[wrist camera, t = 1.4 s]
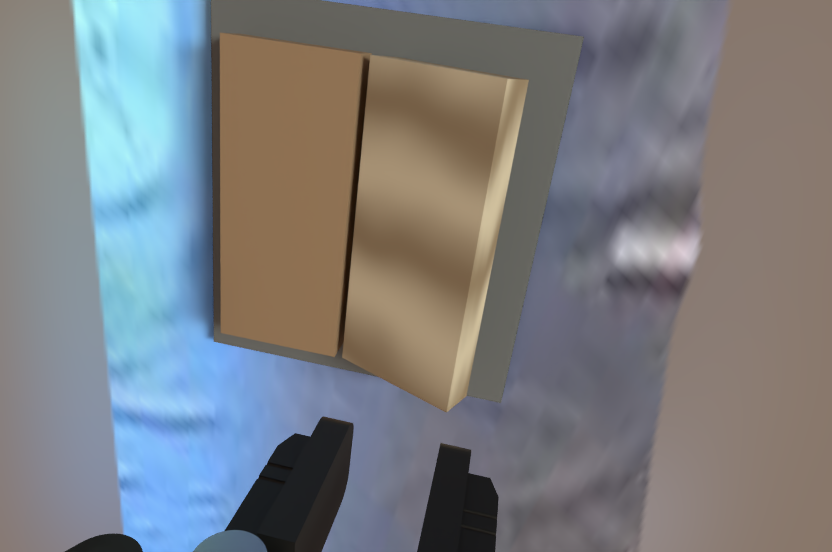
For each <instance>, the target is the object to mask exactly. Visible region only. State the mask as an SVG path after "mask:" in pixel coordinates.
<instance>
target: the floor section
mask: <svg viewBox="0 0 832 552" xmlns="http://www.w3.org/2000/svg"><path fill="white" fill-rule="evenodd" d="M583 39H584V37H581V36H574V35H567V34H560V33H552V32H545V31H538V30H531V29H524V28H516V27H509V26H502V25H495V24H488V23H480V22H473V21H466V20H459V19H451V18H444V17H437V16H430V15H423V14H415V13H408V12H401V11H394V10H387V9H379V8H372V7H365V6H358V5H351V4H343V3H336V2H329V1H322V0H211V58H212V177H213V296H214V342H218V343H223V344H228V345H232V346H237V347H242V348H246V349H251V350H256V351H260V352H265V353H270V354H274V355H279V356H284V357H289V358H293V359H298V360H303V361H307V362H312V363H317V364H321V365H326V366H331V367H335V368H340V369H345V370H349V371H354V372H359V373H363V374H368V375H373V376H376V375H374V374H372V373H370V372H369V371H367V370H365V369H363V368H361V367H359V366H357V365H355V364H353V363H351V362H350V361H348V360H346V359H344V358H342V354H343V343H344V333H345V322H346V311H347V300H348V290H349V279H350V268H351V257H352V247H353V236H354V225H355V214H356V204H357V193H358V182H359V172H360V161H361V150H362V139H363V129H364V118H365V107H366V96H367V86H368V75H369V64H370V55H378V56H390V57H400V58H405V59H411V60H417V61H423V62H429V63H434V64H440V65H446V66H452V67H458V68H463V69H469V70H475V71H481V72H487V73H492V74H498V75H504V76H510V77H516V78H521V79H527V80H529V82H528V87H527V92H526V97H525V102H524V107H523V112H522V117H521V122H520V127H519V132H518V137H517V143H516V148H515V153H514V158H513V163H512V168H511V173H510V178H509V183H508V188H507V193H506V198H505V203H504V208H503V213H502V218H501V224H500V229H499V234H498V239H497V244H496V249H495V254H494V259H493V264H492V269H491V274H490V279H489V284H488V289H487V294H486V299H485V305H484V310H483V315H482V320H481V325H480V330H479V335H478V340H477V345H476V350H475V355H474V360H473V365H472V370H471V375H470V380H469V386H468V391H467V396H471V397H476V398H480V399H485V400H490V401H494V402H499V403H501V400H502V396H503V391H504V387H505V382H506V378H507V373H508V369H509V365H510V360H511V356H512V351H513V347H514V343H515V338H516V334H517V329H518V325H519V321H520V316H521V312H522V307H523V303H524V299H525V294H526V290H527V285H528V281H529V277H530V272H531V268H532V263H533V259H534V254H535V250H536V246H537V241H538V237H539V232H540V228H541V224H542V219H543V215H544V210H545V206H546V202H547V197H548V193H549V188H550V184H551V180H552V175H553V171H554V166H555V162H556V158H557V153H558V149H559V144H560V140H561V135H562V131H563V127H564V122H565V118H566V113H567V109H568V105H569V100H570V96H571V91H572V87H573V83H574V78H575V74H576V69H577V65H578V61H579V56H580V52H581V47H582V43H583ZM377 377H378V376H377Z"/></svg>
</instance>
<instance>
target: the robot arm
mask: <svg viewBox="0 0 832 552" xmlns="http://www.w3.org/2000/svg"><path fill="white" fill-rule="evenodd" d="M352 439H353V423H350V422H345V421H341V420H336V419H332V418H328V417H322V418H321V419H320V421H319V422H318V424H317V426H316V428H315V430H314V431H313V433H312V435H311V437H309V436H305V435H301V434H296V433H295V434H294V435H292V436H291V437H289V438H288V439H286V440H285V441H284V442H282V443H281V444H279V445H278V446H277V448H276V449H275V451H274V453H273V454H272V456H271V457H270V459H269V461H268V463H267V465H265V467H264V469H263V470H262V472H261V473H260V475H259V478H258V479H257V480H256V481H255V483H254V485H253V486H252V488H251V489H250V491H249V493H248V494H247V496H246V497H245V499H244V501H243V502H242V504H241V505H240V507H239V509H238V510H237V512H236V513H235V515H234V517H233V518H232V520H231V521H230V523H229V525H228V526H227V528H226V529H225V531H223V532H220V533H216V534H214V535H212V536H210V537H208V538H207V539H205V540H204V541H203V542H201V543H200V544H199V545H198V546H197V547H196V548H195V550H194V551H193V552H321V551H322V549H323V547H324V544H325V542H326V539H327V537H328V534H329V532H330V529H331V527H332V524H333V522H334V519H335V517H336V515H337V512H338V510H339V507H340V505H341V502H342V499H343V496H344V493H345V489H346V485H347V481H348V475H349V466H350V457H351V448H352ZM470 457H471V450H469V449H465V448H460V447H456V446H452V445H447V444H443V443H441V444H440V449H439V453H438V458H437V463H436V467H435V472H434V476H433V481H432V486H431V490H430V495H429V500H428V504H427V509H426V514H425V518H424V523H423V527H422V532H421V537H420V541H419V546H418V551H417V552H495V545H496V528H497V512H498V495H497V493H496V490H495V488H494V486H493V483H492V481H491V479H490V478H487V477H483V476H479V475H474V474H470V473H468V472H469V464H470ZM65 552H143V551H142V548H141V546H140V544H139V543H138V542H137V541H136V540H135V539H133V538H131V537H129V536H126V535H123V534H104V535H99V536H95V537H93V538H90V539H88V540H85V541H83V542H81V543H79V544H78V545H76V546H74V547H72V548H70V549H69V550H67V551H65Z"/></svg>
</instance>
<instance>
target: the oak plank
mask: <svg viewBox="0 0 832 552" xmlns="http://www.w3.org/2000/svg"><path fill="white" fill-rule="evenodd" d="M528 82H529V80H527V79H521V78H516V77H510V76H504V75H498V74H492V73H487V72H481V71H475V70H469V69H463V68H458V67H452V66H446V65H440V64H434V63H429V62H423V61H417V60H411V59H405V58H400V57H390V56H378V55H370V64H369V75H368V86H367V96H366V107H365V118H364V129H363V139H362V150H361V161H360V172H359V182H358V193H357V204H356V214H355V225H354V236H353V247H352V257H351V268H350V279H349V290H348V300H347V311H346V322H345V333H344V343H343V354H342V358H344V359H346V360H348V361H350V362H351V363H353V364H355V365H357V366H359V367H361V368H363V369H365V370H367V371H369V372H370V373H372V374H374V375H376V376H378V377H380V378H382V379H384V380H386V381H388V382H389V383H391V384H393V385H395V386H397V387H399V388H401V389H403V390H405V391H407V392H408V393H410V394H412V395H414V396H416V397H418V398H420V399H422V400H424V401H426V402H427V403H429V404H431V405H433V406H435V407H437V408H439V409H441V410H443V411H445V412H448V411H449V410H450V409H451V408H452V407H454V406H455V405H456V404H457V403H458V402H460V401H461V400H462V399H463V398H465V397H466V396H467V391H468V386H469V380H470V375H471V370H472V365H473V360H474V355H475V350H476V345H477V340H478V335H479V330H480V325H481V320H482V315H483V310H484V305H485V299H486V294H487V289H488V284H489V279H490V274H491V269H492V264H493V259H494V254H495V249H496V244H497V239H498V234H499V229H500V224H501V218H502V213H503V208H504V203H505V198H506V193H507V188H508V183H509V178H510V173H511V168H512V163H513V158H514V153H515V148H516V143H517V137H518V132H519V127H520V122H521V117H522V112H523V107H524V102H525V97H526V92H527V87H528Z"/></svg>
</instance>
